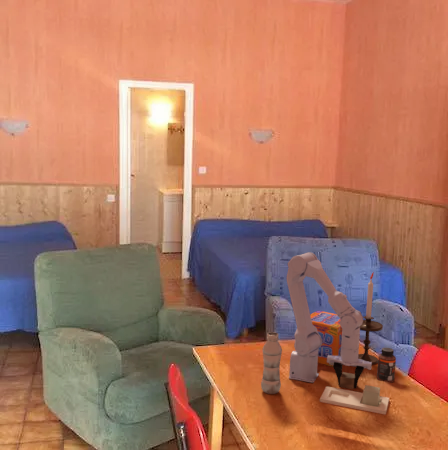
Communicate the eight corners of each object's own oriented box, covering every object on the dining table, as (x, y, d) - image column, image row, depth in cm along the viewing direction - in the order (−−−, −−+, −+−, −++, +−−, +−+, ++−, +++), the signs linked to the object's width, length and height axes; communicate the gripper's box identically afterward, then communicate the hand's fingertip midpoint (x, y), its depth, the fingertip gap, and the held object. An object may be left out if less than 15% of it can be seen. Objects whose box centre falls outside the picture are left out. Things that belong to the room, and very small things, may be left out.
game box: (315, 346, 227) (317, 310, 225) (352, 355, 218) (354, 317, 216) (298, 358, 214) (300, 319, 212) (336, 367, 206) (338, 327, 204)
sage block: (362, 405, 172) (363, 390, 171) (364, 399, 176) (365, 384, 175) (377, 408, 170) (378, 393, 170) (379, 402, 174) (380, 387, 174)
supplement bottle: (395, 384, 192) (397, 353, 191) (377, 382, 193) (379, 351, 192) (393, 377, 198) (395, 347, 196) (376, 375, 199) (378, 345, 198)
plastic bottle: (283, 390, 185) (285, 332, 182) (276, 398, 179) (278, 338, 176) (265, 386, 188) (267, 329, 185) (257, 394, 182) (260, 335, 179)
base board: (319, 406, 174) (320, 398, 174) (326, 393, 183) (326, 386, 183) (385, 419, 167) (385, 411, 167) (388, 405, 176) (389, 397, 176)
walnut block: (339, 391, 186) (340, 376, 185) (341, 386, 190) (342, 372, 189) (353, 393, 184) (354, 379, 183) (355, 388, 188) (356, 374, 187)
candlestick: (379, 356, 218) (385, 269, 213) (381, 367, 207) (387, 275, 203) (351, 354, 220) (356, 267, 215) (351, 364, 209) (357, 273, 205)
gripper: (325, 347, 184) (323, 386, 186) (370, 354, 178) (368, 394, 180) (330, 340, 190) (328, 378, 192) (373, 347, 185) (370, 386, 187)
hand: (347, 385), depth 187 cm, fingers closed on walnut block, 4 cm apart
